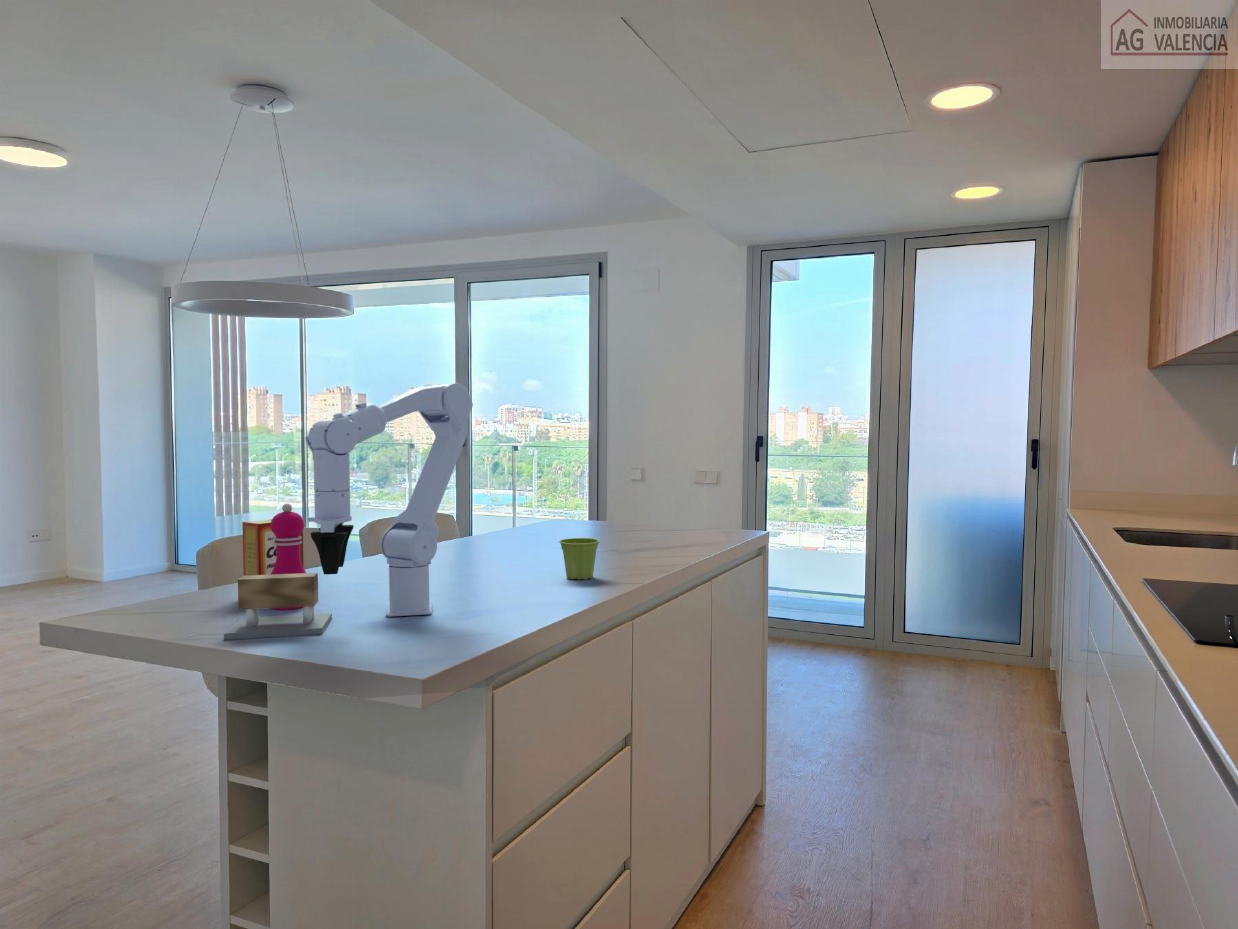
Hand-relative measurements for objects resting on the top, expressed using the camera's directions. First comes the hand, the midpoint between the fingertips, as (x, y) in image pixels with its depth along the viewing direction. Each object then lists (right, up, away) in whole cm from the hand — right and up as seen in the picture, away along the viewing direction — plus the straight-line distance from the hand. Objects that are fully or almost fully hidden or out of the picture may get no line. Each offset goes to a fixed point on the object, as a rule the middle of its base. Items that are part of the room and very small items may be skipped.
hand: (333, 570), depth 135 cm
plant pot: (+40, -8, +48) cm, 63 cm away
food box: (-23, -9, +29) cm, 38 cm away
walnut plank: (-9, -6, 0) cm, 11 cm away
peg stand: (-9, -10, 0) cm, 14 cm away
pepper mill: (-15, -10, +18) cm, 26 cm away
